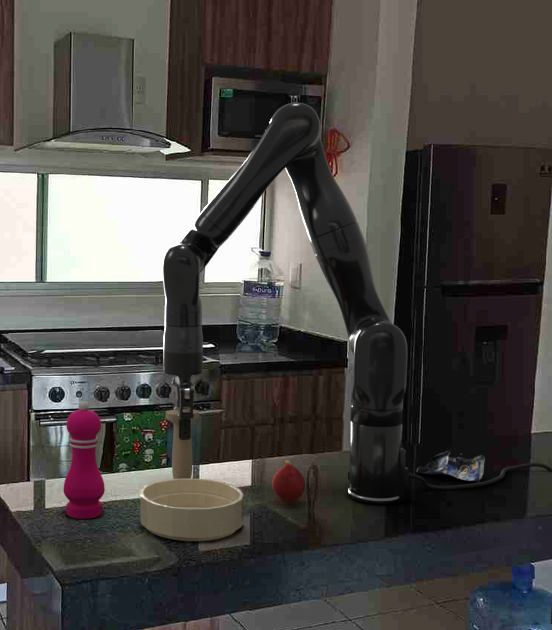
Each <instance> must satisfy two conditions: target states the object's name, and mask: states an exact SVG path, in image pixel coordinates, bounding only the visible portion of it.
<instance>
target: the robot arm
mask: <svg viewBox="0 0 552 630" xmlns="http://www.w3.org/2000/svg"><path fill="white" fill-rule="evenodd" d="M321 127H322V126H321V120H320V117H319V115H318V113H317V111H316V110H315V109H314V108H313V107H312V106H310V105H309V104H307V103H304V102H291V103H290V102H289V103H287V104H285V105H282V106H281V107H279V108H278V109H277V110H276V111H275V112H274V114H273V115H272V116H271V119H270V121H269V124H268V126H267V127H266V129H265V131H264V132H263V134H262V136H261V137H260V139H259V141H258V143H257V144H256V145H255V147H254V148H253V149H252V151H251V152H250V154H249V155H248V157H247V158H246V160H244V162H243V164H241V165H240V167H239V168H238V169H237V170H236V172H234V174H233V175H232V176H231V177H230V178H229V180H227V182H226V183H225V184H224V185H223V186H222V187H221V189H220V190H219V191H217V193H216V194H215V195H214V197H212V199H211V200H210V201H209V202H208V204H207V205H206V206H205V207H204V208H203V210H202V211H201V212H200V213H199V214H198V215H197V217H196V219H195V221H194V222H193V225H192V227H191V228H190V230H189V231H188V232H187V233H186V234H185V236H184V237H183V238H182V239H181V240H180V242H178V243H177V244H175V245H172V246H171V247H169V248H168V249H167V251H166V252H165V253H164V255H163V260H162V279H163V290H164V296H165V305H164V331H163V361H162V363H163V365H162V366H163V367H162V368H163V370H162V371H163V372H164V374H165V375H168V376H175V377H173V378H172V382H171V391H172V395H171V398H172V399H171V400H172V407H173V410H178V419H179V439H180V440H189V439H190V438H191V439H192V424H191V420H192V419H193V417H194V414H193V410H194V406H195V392H196V391H195V384H194V383H193V381H192V378H191V377H192V376H198V375H201V374H203V371H204V334H203V325H202V323H203V320H202V318H203V315H202V314H203V308H202V305H203V304H202V299H201V297H200V274H201V273H202V272H203V271H204V269H205V268H206V267H207V265H208V264H210V261H211V260H212V259H213V258H214V256H215V254H216V253H217V252H218V250H219V249H220V247H221V246H222V245H223V244H224V243H225V242H226V241H227V240H228V239H229V238H230V237H231V236H232V235H233V234H234V233H235V231H236V230H237V229H238V228H239V226H241V224H242V223H243V221H244V220H245V219H246V218H247V217H248V215H249V214H250V213H251V211H252V210H253V208H254V207H255V206H256V204H257V203H258V201H260V199H261V197H262V196H263V194H264V193H265V192H266V190H267V189H268V188H269V186H270V185H271V184H272V183H273V182H274V181H275V179H276V178H277V177H278V176H279V175H280V174H281V173H282V172H283V171H284V170H285V171H286V173H287V175H288V177H289V179H290V181H291V183H292V186H293V189H294V192H295V195H296V199H297V203H298V209H299V212H300V216H301V219H302V223H303V226H304V229H305V231H306V235H307V238H308V241H309V244H310V246H311V249H312V251H313V254H314V256H315V259H316V261H317V263H318V265H319V268H320V270H321V272H322V274H323V276H324V278H325V280H326V282H327V284H328V286H329V288H330V290H331V291H332V293H333V295H334V298H335V299H336V301H337V303H338V306H339V309H340V313H341V316H342V319H343V323H344V325H345V329H346V333H347V338H348V341H349V347H350V349H351V353H352V354H353V381H352V389H351V392H350V422H349V423H350V425H349V426H350V427H349V432H350V433H349V467H348V468H349V469H348V472H347V481H348V489H347V490H348V491H347V493H348V497H349V498H351V499H353V500H354V501H357V502H361V503H365V504H371V505H372V504H373V505H390V504H395V503H398V502H405V499H406V498H405V495H406V493H405V491H406V487H407V486H409V482H410V481H409V479H410V478H411V479H415V480H418V481H419V482H421V483H422V484H423V486H424V487H425V488H427V489H431V490H448V491H449V490H450V491H452V490H453V491H454V490H464V489H471V488H480V487H484V486H489V485H492V484H495V483H497V482H499V481H501V480H503V479H504V477H505V475H506V473H507V472H510V471H515V470H519V469H525V468H532V467H538V468H543V469H544V470H547V471H548V473H549V472H550V473H552V467H551V466H549V465H548V464H544V463H541V462H528V463H522V464H518V465H512V466H508V467H504V468H502V470H500V474H499V475H498V476H496V477H493V478H492V479H487V480H485V481H479V483H478V482H474V483H473V482H472V483H466V484H465V483H464V484H457V485H446V486H445V485H434V484H431V483H428V482H427V480H426V479H425V478H424V477H423V476H420V475H419V474H415V473H410V469H409V468H408V467H407V466H406V461H407V457H406V456H407V451H406V449H404V448H403V447H402V446H403V415H404V414H403V411H404V397H405V394H406V389H407V388H406V387H407V371H408V342H407V338H406V336H405V334H404V332H403V331H402V330H401V328H399V326H398V325H395V324H394V323H393V322H392V320H391V318H389V315H388V314H387V311H386V309H385V307H384V304H383V303H382V301H381V299H380V297H379V294H378V292H377V289H376V285H375V281H374V277H373V270H372V265H371V260H370V256H369V251H368V247H367V243H366V241H365V237H364V234H363V233H362V230H361V227H360V224H359V222H358V220H357V217H356V215H355V213H354V211H353V208H352V207H351V204H350V202H349V201H348V199H347V197H346V195H345V194H344V192H343V190H342V189H341V187H340V186H339V184H338V182H337V180H336V179H335V176H334V175H333V173H332V171H331V168H330V166H329V163H328V159H327V156H326V152H325V149H324V145H323V142H322V137H321V131H322V129H321ZM183 409H188V412H183ZM550 606H551V607H550V608H551V610H550V624H552V605H550Z"/></svg>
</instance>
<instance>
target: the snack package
mask: <svg viewBox="0 0 552 630" xmlns="http://www.w3.org/2000/svg"><path fill="white" fill-rule="evenodd" d="M449 455H450V456H449ZM462 455H463V453H460V456H458V457H452V456H451V451H450V450H445V451H444V452H439V453H436V454H434V455H433V456H431V458H430V460H429V462H428V463H427V464H425V466H418V467H417V468H416V473H417V474H418V475H419V474H420V475H421V474H425V475H431V476H447V477H451V478H455V479H458V480H461V481H465V482H475V483H480V482H481V479H482V478H483V475H484V469H485V461H486V460H485V457H486V456H484V455H483V454H479V455H477V456H474V457H473V458H464V457H461V456H462Z"/></svg>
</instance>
